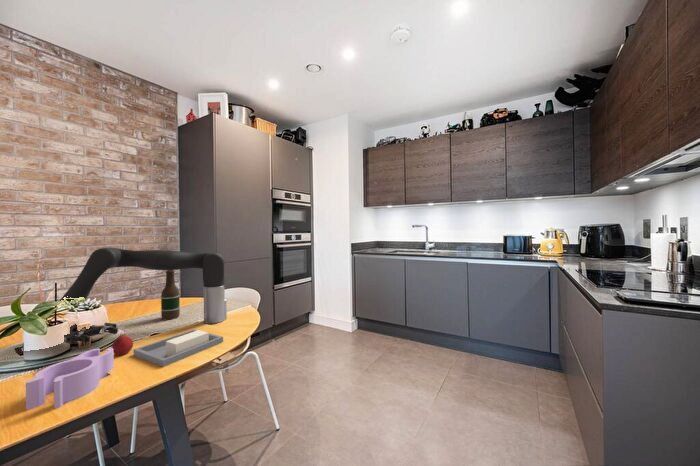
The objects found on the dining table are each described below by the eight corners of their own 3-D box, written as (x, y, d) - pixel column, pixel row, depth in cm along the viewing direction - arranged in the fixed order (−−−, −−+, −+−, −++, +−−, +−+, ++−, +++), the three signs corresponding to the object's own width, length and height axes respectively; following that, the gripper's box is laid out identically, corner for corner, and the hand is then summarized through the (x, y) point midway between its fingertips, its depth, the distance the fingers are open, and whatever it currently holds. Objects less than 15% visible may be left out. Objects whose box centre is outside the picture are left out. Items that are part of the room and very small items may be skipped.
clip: (84, 370, 89) (84, 348, 89) (126, 368, 90) (125, 347, 90) (14, 411, 69) (13, 383, 69) (68, 408, 70) (67, 381, 70)
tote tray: (194, 336, 117) (193, 329, 117) (223, 344, 108) (223, 336, 108) (133, 357, 97) (133, 349, 97) (163, 370, 89) (163, 360, 89)
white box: (198, 342, 107) (198, 330, 107) (208, 345, 105) (208, 332, 105) (165, 355, 97) (165, 341, 97) (176, 359, 94) (176, 344, 94)
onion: (121, 360, 95) (120, 337, 95) (107, 359, 96) (107, 336, 96) (137, 353, 101) (137, 331, 101) (124, 351, 102) (124, 330, 102)
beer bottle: (157, 319, 138) (156, 271, 138) (170, 314, 146) (169, 269, 145) (171, 320, 137) (170, 271, 136) (183, 315, 144) (182, 269, 144)
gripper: (51, 325, 101) (78, 331, 96) (98, 314, 115) (124, 319, 109) (52, 346, 101) (78, 353, 96) (99, 332, 115) (124, 338, 109)
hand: (103, 335), depth 102 cm, fingers open, 8 cm apart
